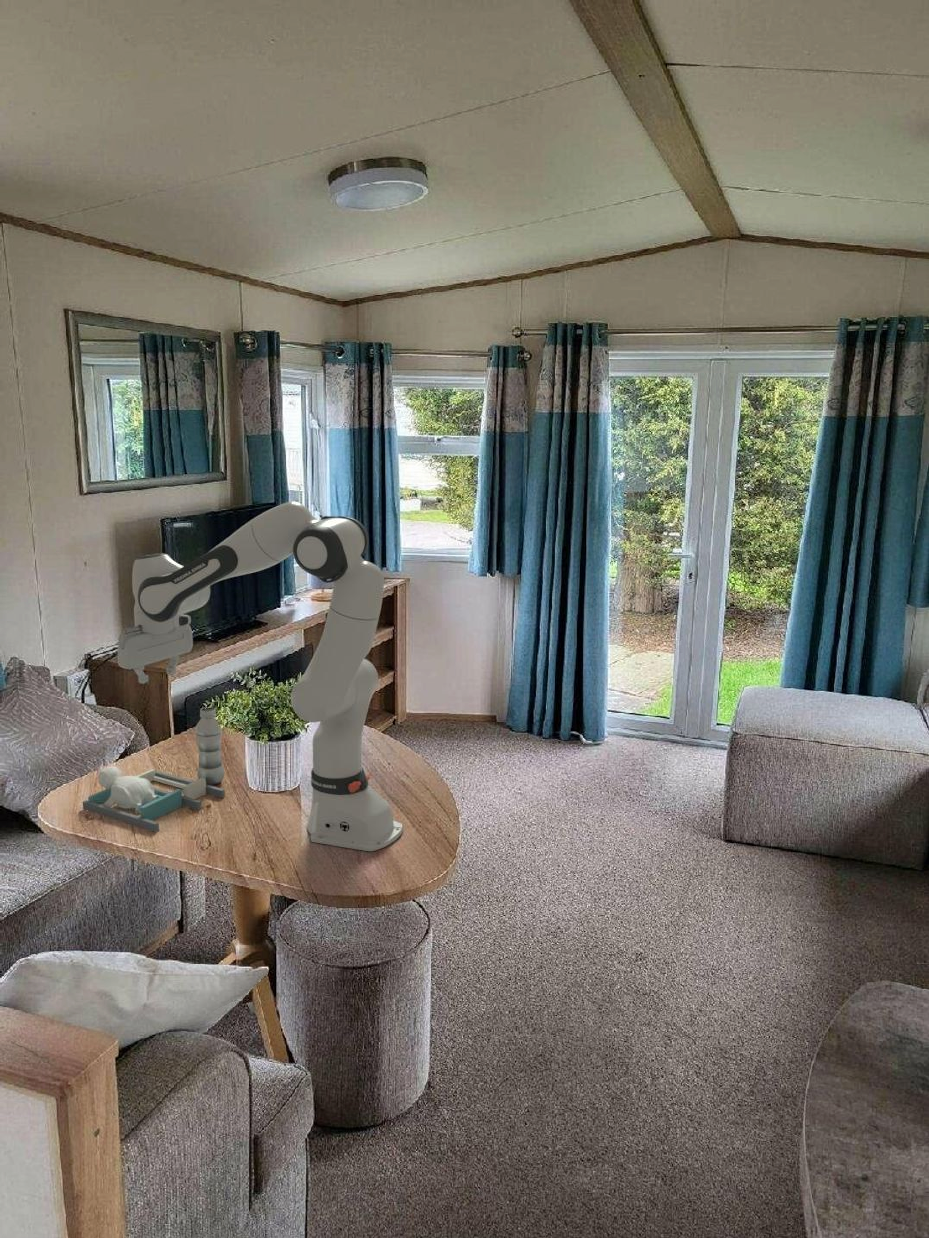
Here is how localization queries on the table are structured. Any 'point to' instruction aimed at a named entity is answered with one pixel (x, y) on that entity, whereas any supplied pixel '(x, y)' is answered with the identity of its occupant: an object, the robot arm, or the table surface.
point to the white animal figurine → (126, 789)
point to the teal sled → (150, 809)
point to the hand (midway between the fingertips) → (157, 678)
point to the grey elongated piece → (179, 784)
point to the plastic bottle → (209, 747)
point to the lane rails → (149, 823)
